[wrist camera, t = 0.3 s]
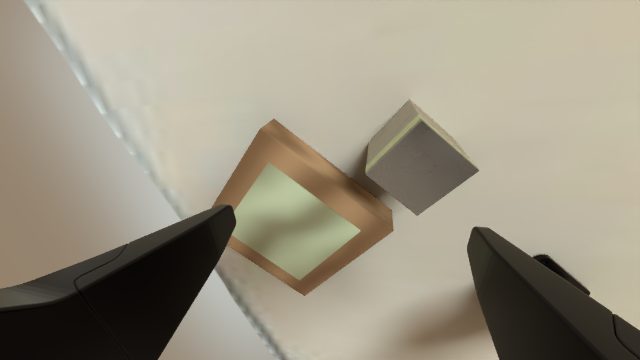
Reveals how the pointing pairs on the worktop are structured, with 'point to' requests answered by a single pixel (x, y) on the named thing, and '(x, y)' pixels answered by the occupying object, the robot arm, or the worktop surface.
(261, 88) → the worktop surface
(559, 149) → the worktop surface
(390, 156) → the grey box
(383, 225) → the platform
